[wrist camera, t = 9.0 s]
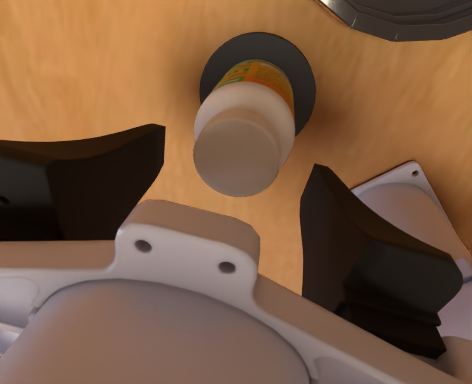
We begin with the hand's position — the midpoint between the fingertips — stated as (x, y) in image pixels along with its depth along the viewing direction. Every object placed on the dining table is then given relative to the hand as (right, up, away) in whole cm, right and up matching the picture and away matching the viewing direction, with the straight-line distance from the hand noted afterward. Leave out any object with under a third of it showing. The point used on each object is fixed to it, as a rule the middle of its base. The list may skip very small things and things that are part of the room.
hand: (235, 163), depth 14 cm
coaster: (+2, +6, +8) cm, 10 cm away
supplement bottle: (+1, +6, +7) cm, 9 cm away
